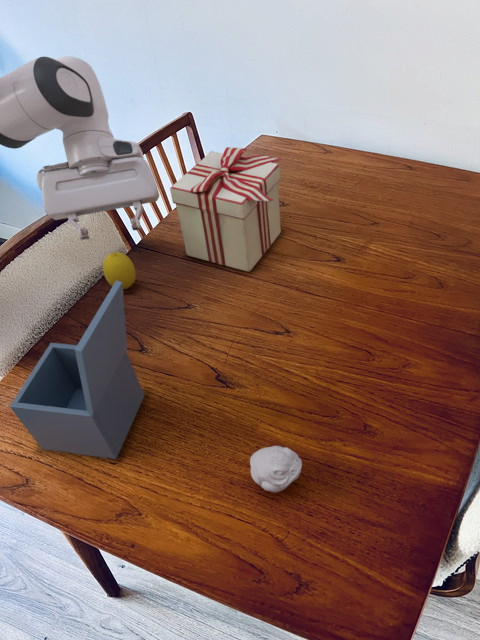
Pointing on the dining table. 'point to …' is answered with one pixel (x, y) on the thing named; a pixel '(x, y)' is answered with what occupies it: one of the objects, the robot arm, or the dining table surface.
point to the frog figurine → (275, 468)
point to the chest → (76, 406)
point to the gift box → (229, 208)
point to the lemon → (119, 269)
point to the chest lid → (102, 347)
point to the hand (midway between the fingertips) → (111, 234)
